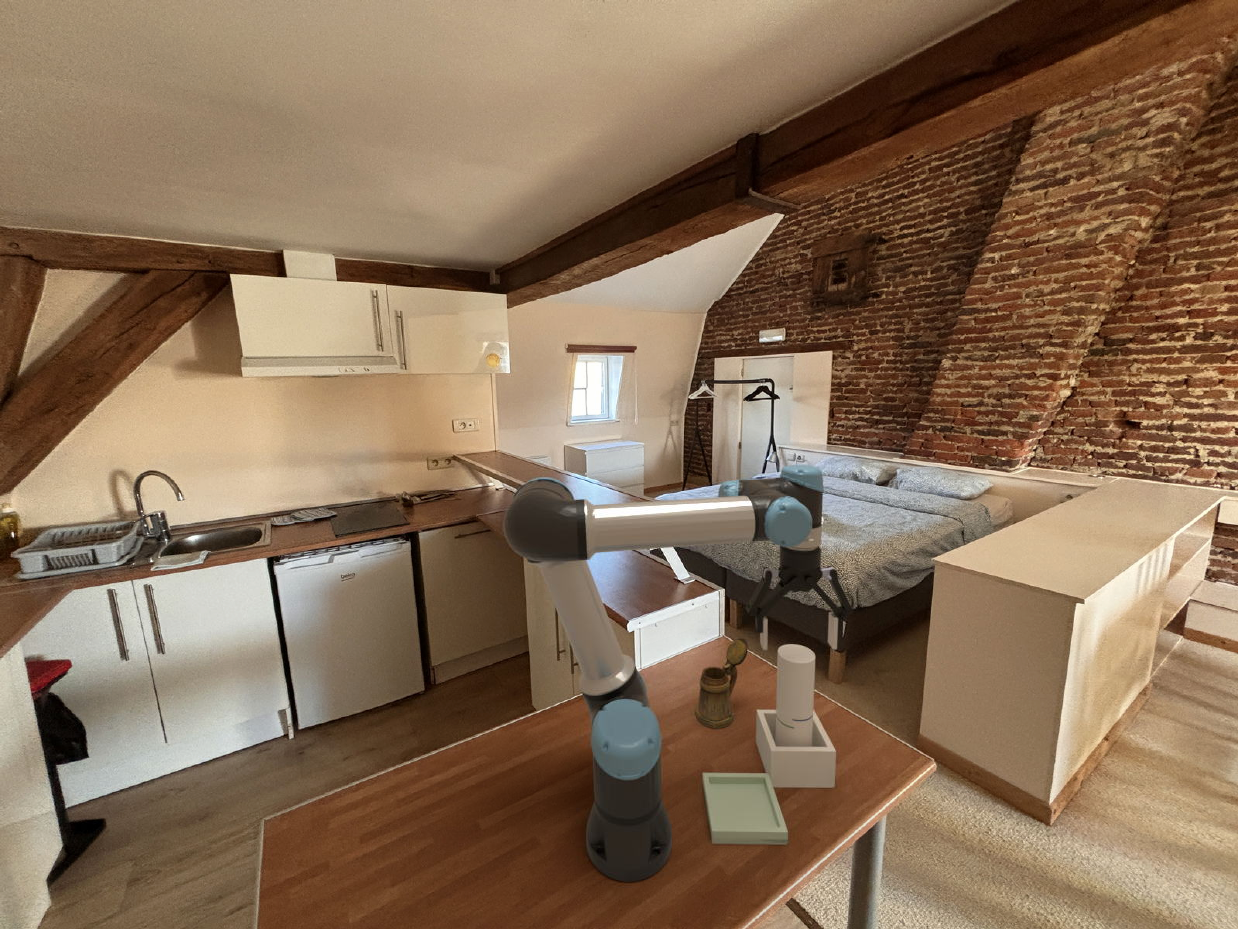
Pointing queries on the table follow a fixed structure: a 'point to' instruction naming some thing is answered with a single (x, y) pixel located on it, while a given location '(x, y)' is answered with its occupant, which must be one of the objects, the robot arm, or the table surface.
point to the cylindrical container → (795, 696)
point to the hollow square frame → (796, 756)
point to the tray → (743, 809)
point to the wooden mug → (720, 688)
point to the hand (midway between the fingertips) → (797, 646)
